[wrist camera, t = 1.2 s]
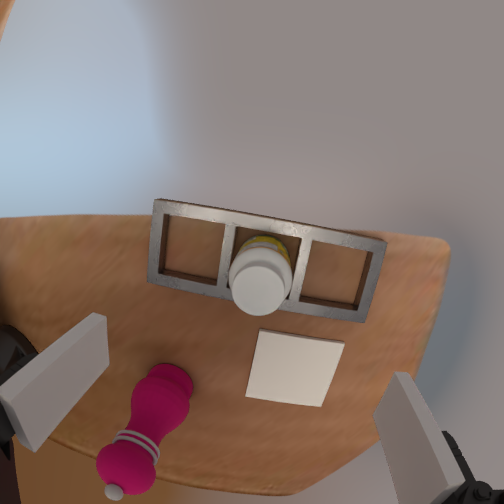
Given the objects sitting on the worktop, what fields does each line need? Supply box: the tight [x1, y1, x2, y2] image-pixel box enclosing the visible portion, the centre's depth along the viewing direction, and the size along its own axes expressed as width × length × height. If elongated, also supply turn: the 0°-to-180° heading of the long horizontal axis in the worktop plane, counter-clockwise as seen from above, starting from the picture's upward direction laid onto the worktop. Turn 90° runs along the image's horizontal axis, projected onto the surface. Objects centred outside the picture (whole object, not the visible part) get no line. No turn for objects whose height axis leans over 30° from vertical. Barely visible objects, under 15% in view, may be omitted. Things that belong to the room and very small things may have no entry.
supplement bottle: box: [228, 235, 292, 316], centre depth 27 cm, size 5×5×10 cm
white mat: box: [246, 328, 345, 407], centre depth 34 cm, size 10×10×1 cm
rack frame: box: [147, 199, 387, 323], centre depth 31 cm, size 24×9×2 cm, turn 80°
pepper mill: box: [96, 364, 193, 500], centre depth 27 cm, size 7×7×20 cm
